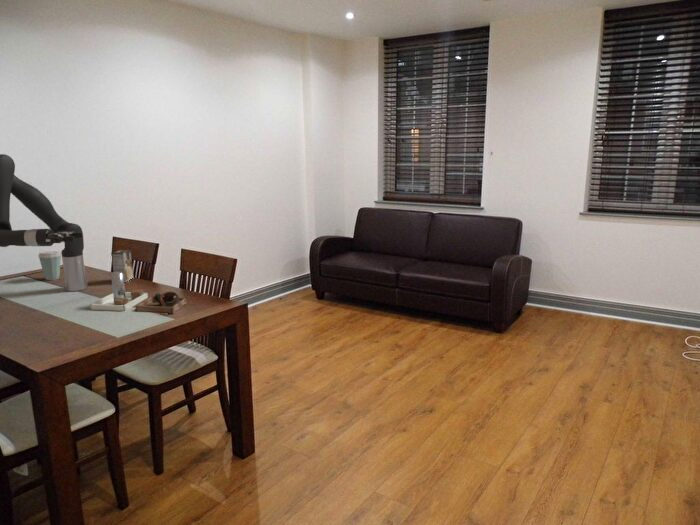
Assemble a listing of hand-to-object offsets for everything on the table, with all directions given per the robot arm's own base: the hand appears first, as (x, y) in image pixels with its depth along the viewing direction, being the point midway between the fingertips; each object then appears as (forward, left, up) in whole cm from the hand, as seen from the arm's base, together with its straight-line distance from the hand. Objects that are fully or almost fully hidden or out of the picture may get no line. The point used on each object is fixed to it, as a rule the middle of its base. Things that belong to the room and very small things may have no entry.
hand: (78, 236), depth 220 cm
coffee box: (-44, -7, -32) cm, 54 cm away
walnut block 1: (+3, +19, -31) cm, 36 cm away
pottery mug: (-3, +37, -32) cm, 49 cm away
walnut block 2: (-10, +19, -31) cm, 37 cm away
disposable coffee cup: (-43, -47, -32) cm, 71 cm away
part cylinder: (-4, +14, -31) cm, 34 cm away
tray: (-4, +14, -31) cm, 35 cm away
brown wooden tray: (-2, +35, -31) cm, 47 cm away
